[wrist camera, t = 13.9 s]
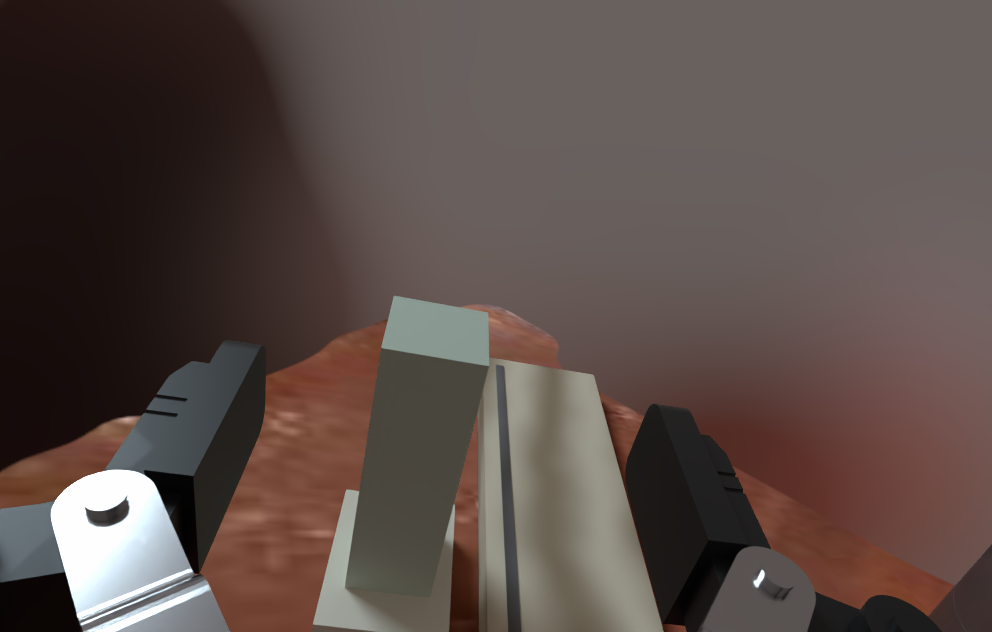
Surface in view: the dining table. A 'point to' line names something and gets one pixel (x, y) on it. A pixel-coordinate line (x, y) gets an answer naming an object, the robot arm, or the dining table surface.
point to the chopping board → (554, 510)
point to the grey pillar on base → (408, 476)
